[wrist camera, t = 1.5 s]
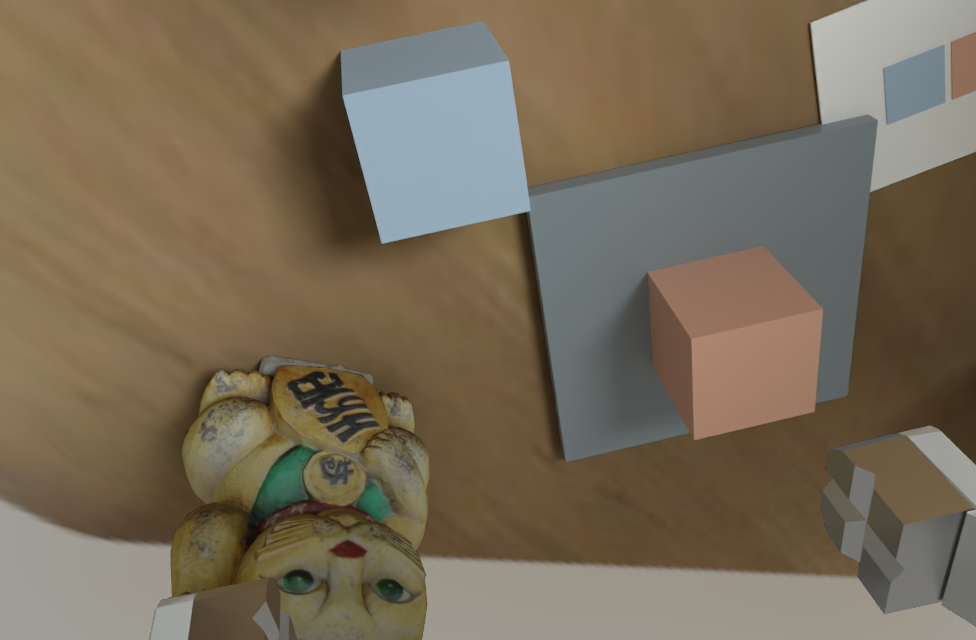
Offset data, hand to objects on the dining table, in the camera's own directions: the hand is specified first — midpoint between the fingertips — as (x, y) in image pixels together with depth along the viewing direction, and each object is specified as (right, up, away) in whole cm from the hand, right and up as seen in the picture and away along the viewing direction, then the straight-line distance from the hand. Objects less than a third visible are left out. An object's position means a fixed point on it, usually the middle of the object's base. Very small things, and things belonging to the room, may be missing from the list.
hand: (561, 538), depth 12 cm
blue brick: (-3, +11, +18) cm, 21 cm away
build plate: (+8, +4, +24) cm, 26 cm away
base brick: (+8, +4, +24) cm, 25 cm away
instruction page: (+17, +13, +20) cm, 29 cm away
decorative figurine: (-9, -1, +25) cm, 26 cm away
